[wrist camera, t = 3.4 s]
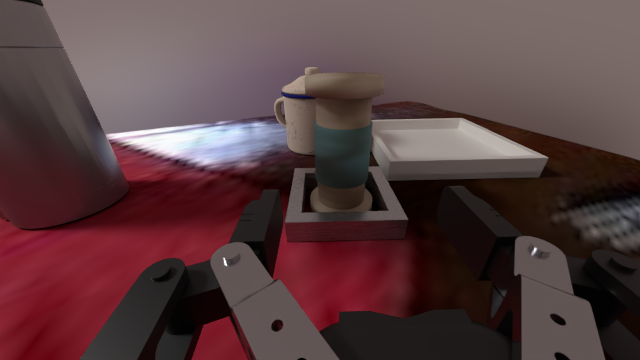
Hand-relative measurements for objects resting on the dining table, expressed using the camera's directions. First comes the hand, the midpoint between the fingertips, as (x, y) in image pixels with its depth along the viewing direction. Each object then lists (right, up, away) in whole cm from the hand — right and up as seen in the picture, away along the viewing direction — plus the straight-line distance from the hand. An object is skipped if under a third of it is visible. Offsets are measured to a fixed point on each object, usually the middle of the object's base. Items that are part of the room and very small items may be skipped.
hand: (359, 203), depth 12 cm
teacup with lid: (-4, +7, +28) cm, 29 cm away
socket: (0, -2, +12) cm, 12 cm away
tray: (+15, +6, +24) cm, 29 cm away
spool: (0, -2, +12) cm, 12 cm away
